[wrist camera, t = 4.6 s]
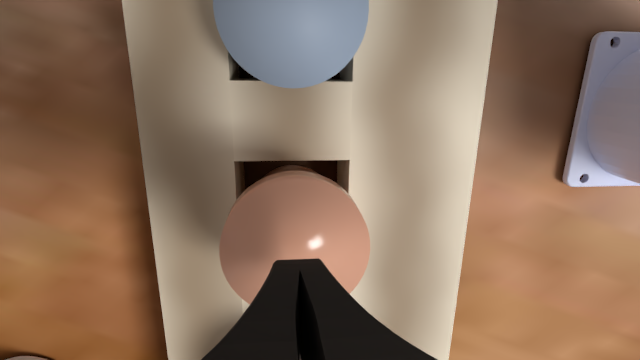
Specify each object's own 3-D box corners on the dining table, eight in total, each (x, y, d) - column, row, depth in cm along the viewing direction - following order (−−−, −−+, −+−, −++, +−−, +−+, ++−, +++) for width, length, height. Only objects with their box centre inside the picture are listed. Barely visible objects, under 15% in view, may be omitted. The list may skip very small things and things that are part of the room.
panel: (471, -120, 16) (520, -168, 13) (415, 389, 24) (437, 441, 21) (137, -141, 15) (95, -201, 11) (196, 406, 23) (181, 463, 20)
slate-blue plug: (348, -38, 16) (372, -78, 12) (344, 83, 18) (365, 89, 13) (228, -43, 16) (207, -86, 11) (234, 82, 17) (218, 88, 13)
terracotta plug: (349, 149, 17) (374, 179, 12) (345, 252, 18) (366, 312, 14) (232, 150, 16) (214, 181, 12) (238, 256, 18) (224, 320, 13)
